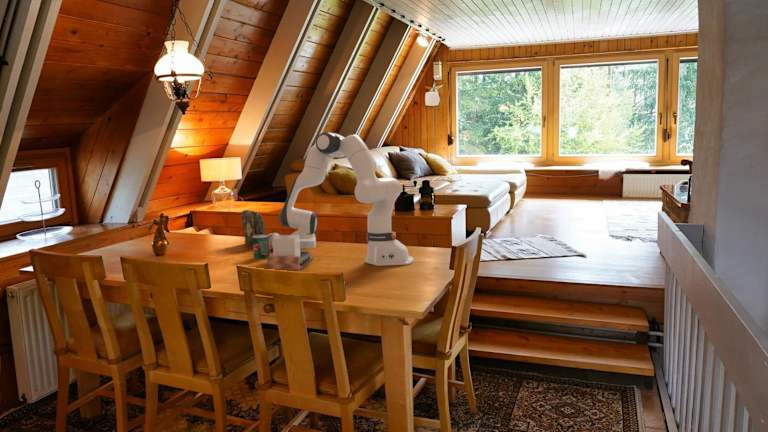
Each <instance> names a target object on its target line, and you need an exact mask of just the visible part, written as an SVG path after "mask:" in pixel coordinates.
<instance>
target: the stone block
mask: <svg viewBox="0 0 768 432" xmlns="http://www.w3.org/2000/svg"><path fill="white" fill-rule="evenodd" d="M240 216H241V218H240V219H241V223H242V228H243V232H244V233H243V234H244V244H245V245H246V246H247V247H249V248H253V236H255V235H265V230H266V229H265V228H266V225H265V223H264V219H263V216H262V215H261V213H259V212H257V211H255V210H250V209H249V210H248V209H245V210H242V212H241V215H240Z"/></svg>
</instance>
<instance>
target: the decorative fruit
mask: <svg viewBox="0 0 768 432" xmlns="http://www.w3.org/2000/svg"><path fill="white" fill-rule="evenodd" d="M268 235H269V247H270V249H271V250H273V246H272V241H273V238H274V237H276V236H278V235H280V234H279V233H278V232H276V231H275V232H274V231H272V233H269V234H268Z"/></svg>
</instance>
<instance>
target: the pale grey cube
mask: <svg viewBox="0 0 768 432" xmlns="http://www.w3.org/2000/svg"><path fill="white" fill-rule="evenodd" d="M272 251H273V254H272V256H299V258H300V257H301V255H300V252H301V250H300V235H291V234H290V235H289V234H284V235H283V234H279V235H278V236H276V237H274V238H273V249H272Z"/></svg>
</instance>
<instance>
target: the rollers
mask: <svg viewBox="0 0 768 432" xmlns="http://www.w3.org/2000/svg"><path fill="white" fill-rule="evenodd" d="M300 255H301V257H300V258H299V261H300V265H302V264H303V262H305V260H308V258H310V257H312V255H311V251H300Z"/></svg>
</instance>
